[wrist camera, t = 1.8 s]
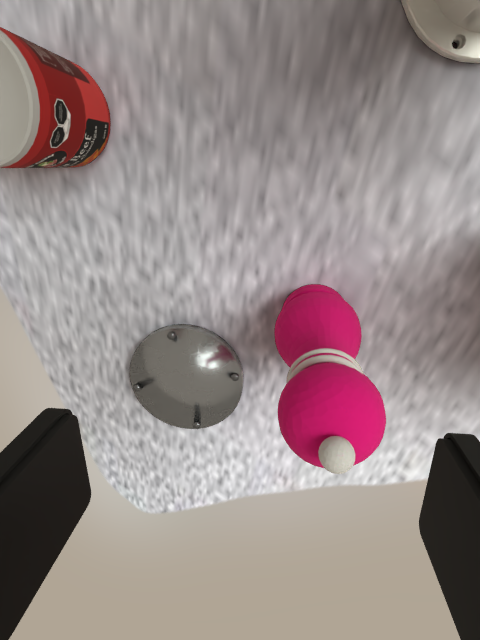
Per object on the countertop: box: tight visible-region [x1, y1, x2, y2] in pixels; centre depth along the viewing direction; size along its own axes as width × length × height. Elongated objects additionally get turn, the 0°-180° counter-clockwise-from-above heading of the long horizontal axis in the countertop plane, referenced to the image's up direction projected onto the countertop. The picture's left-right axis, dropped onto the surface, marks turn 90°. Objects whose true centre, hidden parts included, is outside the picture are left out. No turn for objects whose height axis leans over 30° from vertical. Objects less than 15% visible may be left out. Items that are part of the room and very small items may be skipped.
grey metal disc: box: [130, 324, 243, 429], centre depth 40 cm, size 12×12×2 cm
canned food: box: [0, 27, 110, 168], centre depth 27 cm, size 8×8×11 cm
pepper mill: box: [275, 284, 386, 474], centre depth 27 cm, size 7×7×20 cm
